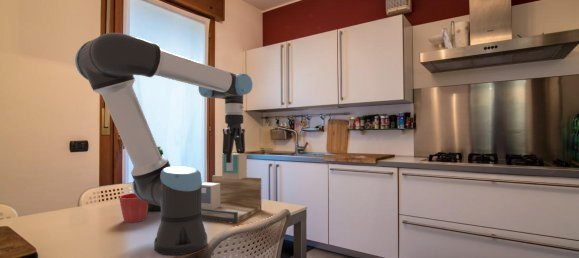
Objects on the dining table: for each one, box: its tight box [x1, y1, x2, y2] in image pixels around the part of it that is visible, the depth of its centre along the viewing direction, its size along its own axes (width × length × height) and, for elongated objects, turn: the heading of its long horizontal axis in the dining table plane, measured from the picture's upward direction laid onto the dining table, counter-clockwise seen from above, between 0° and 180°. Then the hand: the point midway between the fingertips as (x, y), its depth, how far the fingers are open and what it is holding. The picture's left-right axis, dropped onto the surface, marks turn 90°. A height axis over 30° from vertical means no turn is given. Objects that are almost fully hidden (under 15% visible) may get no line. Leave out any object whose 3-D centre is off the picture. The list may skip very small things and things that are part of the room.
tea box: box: [221, 152, 248, 179], centre depth 125 cm, size 8×6×10 cm
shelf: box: [201, 174, 262, 224], centre depth 127 cm, size 21×25×14 cm
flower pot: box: [118, 192, 149, 223], centre depth 118 cm, size 11×11×10 cm
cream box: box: [201, 181, 220, 209], centre depth 130 cm, size 6×8×10 cm
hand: (234, 169), depth 125 cm, fingers closed on tea box, 6 cm apart
